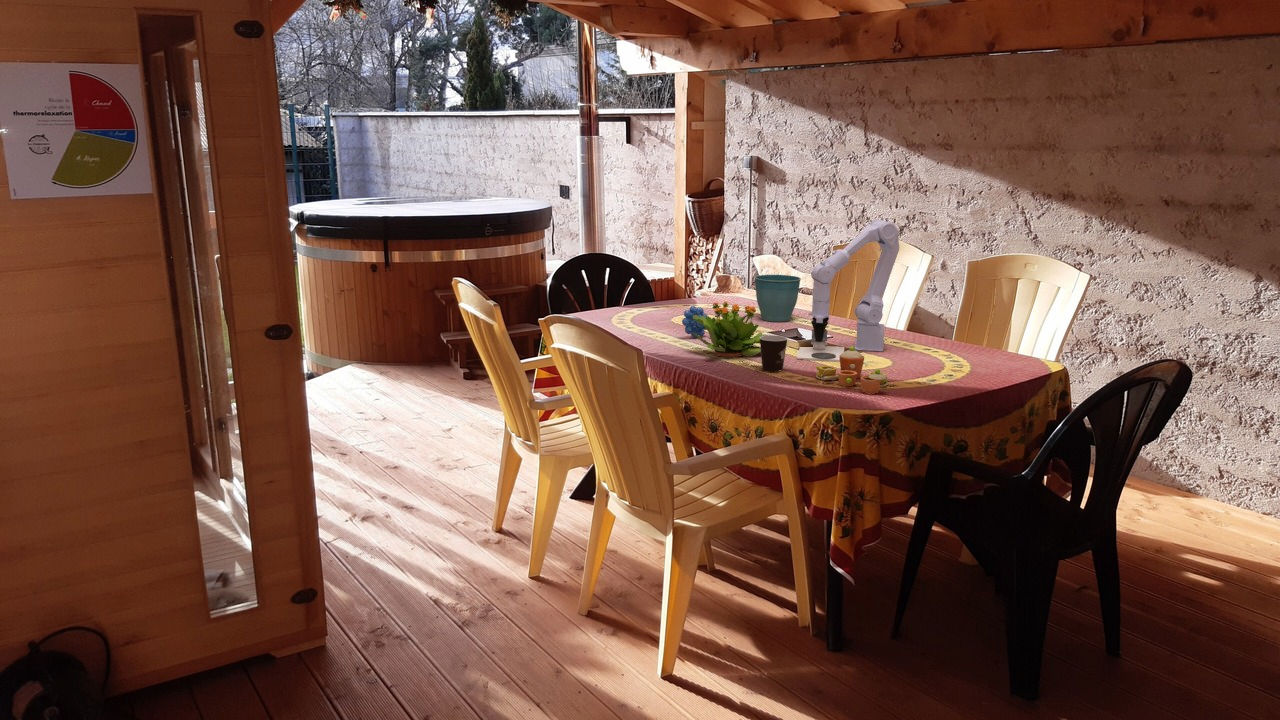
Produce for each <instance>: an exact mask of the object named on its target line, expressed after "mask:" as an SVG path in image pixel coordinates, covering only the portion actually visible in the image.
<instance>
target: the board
mask: <svg viewBox="0 0 1280 720" xmlns="http://www.w3.org/2000/svg"><path fill="white" fill-rule="evenodd" d="M810 344H811V345H813V347H800V346H799V348H798V352H797V355H796V360H797V359H804V360H803V361H816V360H817V361H820V362H839V363H840V358H839V357H840V355H841V354H842V353H844V352H845V346H829V345H828V342H827V341H826V342H815V341H811V342H810ZM817 361H816V362H817Z"/></svg>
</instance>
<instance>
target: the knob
mask: <svg viewBox="0 0 1280 720" xmlns="http://www.w3.org/2000/svg"><path fill="white" fill-rule="evenodd" d="M813 341H815V342H816V340H815V333H814V328H812V330H811V342H813ZM822 342H826V343H827V342H828V329H827V328H825V331H824V336H823V340H822Z"/></svg>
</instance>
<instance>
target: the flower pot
mask: <svg viewBox="0 0 1280 720" xmlns="http://www.w3.org/2000/svg"><path fill="white" fill-rule="evenodd" d="M801 279H802V278H801V277H799V276H796V275H795V276H794V275H788V274H760V275H755V276H754V281H755V284H754V285H755V296H756V302H757V306H758V309H759V312H760V319H761V320H762V321H767V322H775V323H776V322H778V323H779V322H781V323H782V322H783V323H784V322H789V321H791V320H792V315H793V312H794V309H795V308H796V304H797V302H798V298H799V290H800V282H801Z"/></svg>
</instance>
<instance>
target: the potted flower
mask: <svg viewBox="0 0 1280 720" xmlns="http://www.w3.org/2000/svg"><path fill="white" fill-rule="evenodd" d="M729 305H730V304H728V301H727V300H725V301H724V302H723V303H722V306H721V304H720V305H719V302H718V301H717V302H713V303H712V309H713V310H714V311H713V312H714V314H715V315H714V317H711V316H706V318H705V317H704V316H700V317H699V316H697V315H693V318H694V319H693V320H695V321H697V322H699V323H700V324H702V325H703V326H704V327H705V328H706V329H707V330H706V331H707V332H708V333H709V337H708V336H707V338H708V339H709V340H710V342H708V341H707V340H706V339H703V338H702V336H699V335H697V334H695V333H694V334H695V336H697V338H698V339H699V341H701V342H702V343H703V344H704V345H706V346H707V348H708V349H711V350H714V354H715V355H716V356H718V357H722V358H739V357H742V356H744V357H748V358H750V357H754V356H756V355H758V354H759V353H761V347H760V346H758V345H756V344H759V345H760V337H761V336H767V335H768V334H766V335H765V334H764V335H763V333H762V332H759V333H757V334H756V335H755V332H756V331H757V328H759V326H760V325H759V324H757V323H756V324H755V325H754V322H753V321H752V319H753V318H754V317H755V313H757V311H756V309H757V308H756V307H754V306H749V305H747V306H744V313H746V315H744V316H740V314H739V312H740V308H741V307H740V305H738V304H733V305H732V306H731V310H729V309H728V307H729ZM720 316H721V317H720ZM745 319H746V320H745ZM749 320H750V321H749ZM748 321H749V322H748ZM692 333H693V332H692ZM754 335H755V336H754ZM753 336H754V337H753Z"/></svg>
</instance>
